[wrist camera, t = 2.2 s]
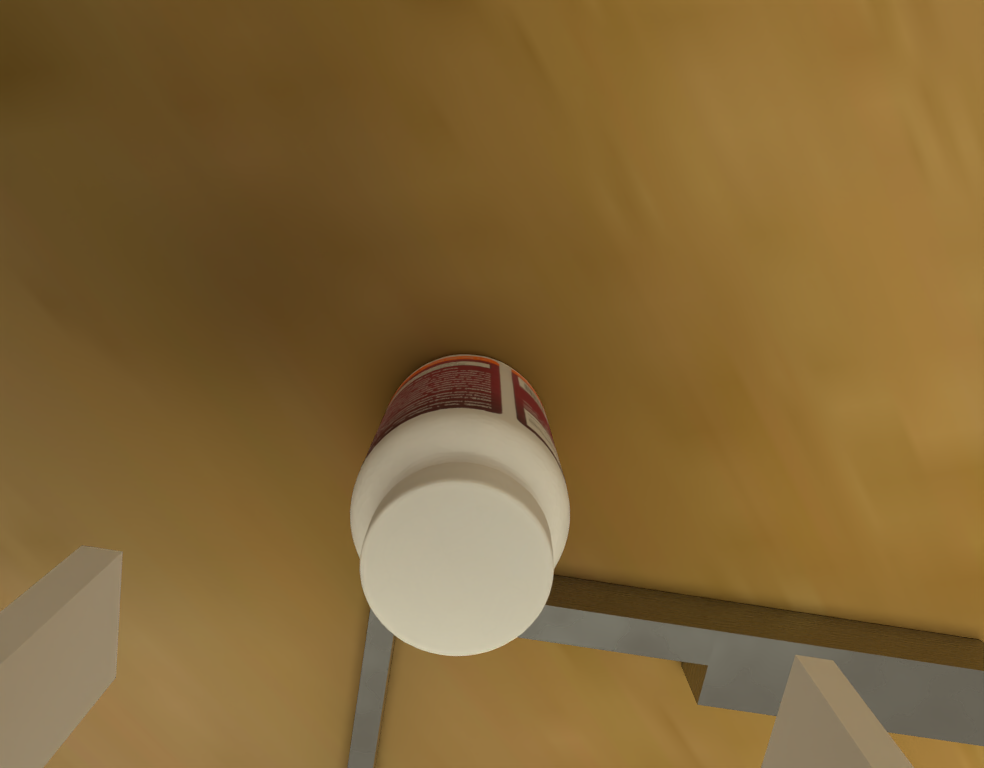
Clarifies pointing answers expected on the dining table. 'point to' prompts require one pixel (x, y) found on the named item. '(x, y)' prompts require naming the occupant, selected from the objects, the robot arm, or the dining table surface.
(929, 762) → the dining table surface
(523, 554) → the pill bottle
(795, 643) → the grey u-shaped frame
